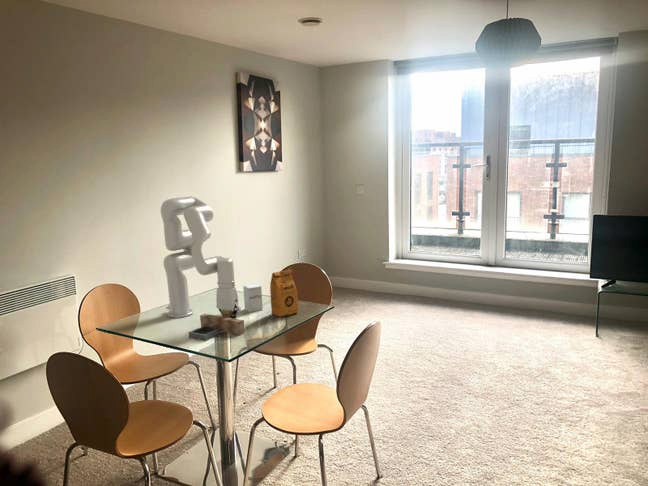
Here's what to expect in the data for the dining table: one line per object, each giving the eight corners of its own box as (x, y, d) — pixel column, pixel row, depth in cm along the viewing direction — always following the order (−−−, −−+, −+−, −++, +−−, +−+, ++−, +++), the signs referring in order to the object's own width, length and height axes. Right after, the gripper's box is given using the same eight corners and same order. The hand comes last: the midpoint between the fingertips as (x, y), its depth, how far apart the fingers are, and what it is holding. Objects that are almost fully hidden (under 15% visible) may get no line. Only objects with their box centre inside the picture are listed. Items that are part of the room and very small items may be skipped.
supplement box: (249, 312, 267) (247, 288, 265) (244, 309, 273) (242, 285, 271) (263, 310, 270) (261, 286, 268) (258, 306, 277) (256, 283, 274)
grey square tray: (188, 337, 233) (188, 332, 232) (205, 330, 241) (204, 325, 241) (205, 341, 227) (204, 335, 227) (221, 333, 236) (220, 328, 235)
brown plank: (201, 327, 246) (200, 315, 245) (205, 325, 248) (204, 313, 247) (240, 335, 233) (239, 322, 232) (244, 333, 236) (243, 320, 235)
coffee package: (301, 314, 260) (298, 270, 256) (278, 319, 254) (275, 274, 250) (291, 309, 268) (289, 267, 265) (269, 314, 262) (266, 271, 258)
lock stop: (222, 326, 247) (221, 307, 245) (229, 323, 251) (227, 305, 249) (230, 327, 245) (228, 308, 243) (236, 324, 248) (235, 306, 247)
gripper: (207, 285, 246) (210, 322, 249) (234, 288, 237) (237, 327, 240) (218, 281, 252) (221, 318, 255) (245, 284, 243) (248, 322, 246)
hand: (229, 322), depth 247 cm, fingers closed on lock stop, 4 cm apart
